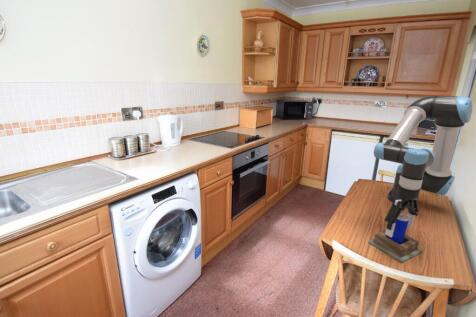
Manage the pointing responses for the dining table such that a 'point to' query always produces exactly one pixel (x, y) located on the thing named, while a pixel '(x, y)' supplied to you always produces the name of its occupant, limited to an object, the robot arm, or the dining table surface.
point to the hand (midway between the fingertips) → (398, 231)
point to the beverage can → (400, 228)
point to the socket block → (396, 247)
